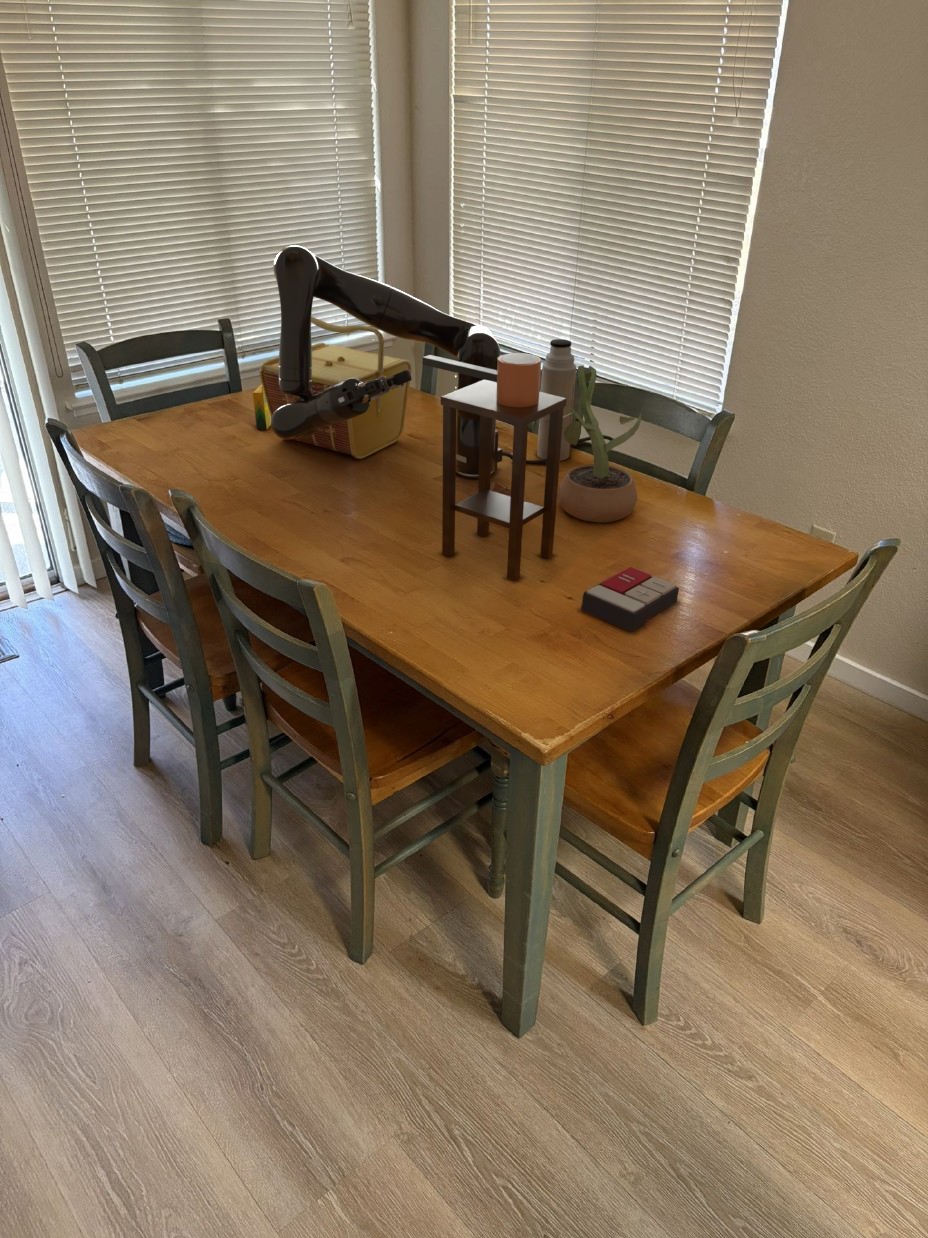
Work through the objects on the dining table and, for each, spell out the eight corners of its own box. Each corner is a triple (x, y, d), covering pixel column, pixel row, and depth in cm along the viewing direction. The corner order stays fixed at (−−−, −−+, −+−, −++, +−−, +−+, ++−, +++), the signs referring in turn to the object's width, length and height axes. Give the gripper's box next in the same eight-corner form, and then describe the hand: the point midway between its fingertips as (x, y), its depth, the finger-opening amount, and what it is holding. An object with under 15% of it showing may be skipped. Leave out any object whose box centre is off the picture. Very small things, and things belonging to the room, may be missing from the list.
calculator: (681, 583, 168) (635, 610, 158) (677, 604, 170) (631, 632, 161) (630, 563, 175) (582, 588, 165) (626, 584, 177) (580, 610, 167)
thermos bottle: (570, 450, 234) (580, 337, 219) (567, 462, 227) (576, 346, 212) (539, 447, 235) (546, 335, 220) (534, 459, 228) (541, 344, 214)
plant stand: (439, 554, 185) (440, 396, 168) (481, 530, 194) (486, 378, 177) (514, 582, 175) (523, 418, 159) (554, 555, 185) (566, 398, 168)
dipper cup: (413, 382, 175) (412, 341, 171) (438, 373, 180) (438, 333, 176) (523, 410, 162) (525, 367, 158) (546, 399, 167) (549, 357, 163)
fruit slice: (481, 504, 205) (481, 482, 203) (505, 497, 209) (506, 476, 206) (503, 517, 200) (504, 496, 197) (528, 510, 203) (529, 489, 200)
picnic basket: (416, 437, 240) (415, 318, 224) (354, 469, 221) (348, 341, 205) (328, 415, 253) (321, 301, 237) (262, 443, 234) (250, 321, 219)
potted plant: (653, 508, 205) (671, 372, 189) (604, 533, 194) (619, 391, 178) (572, 478, 218) (583, 350, 203) (522, 500, 207) (529, 366, 191)
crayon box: (265, 419, 249) (260, 376, 243) (275, 420, 249) (271, 377, 243) (255, 429, 243) (251, 385, 237) (266, 429, 243) (262, 385, 237)
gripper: (311, 391, 187) (363, 367, 176) (359, 376, 197) (411, 353, 186) (325, 427, 189) (378, 405, 178) (372, 411, 199) (425, 389, 188)
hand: (395, 379), depth 182 cm, fingers open, 8 cm apart
